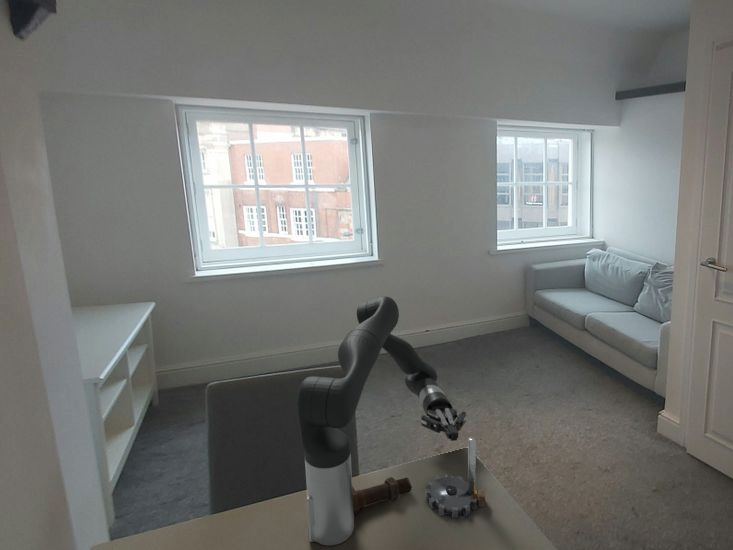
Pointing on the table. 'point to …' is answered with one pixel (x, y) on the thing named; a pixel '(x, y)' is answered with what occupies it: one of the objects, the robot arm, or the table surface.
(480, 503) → the brown block
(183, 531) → the table surface
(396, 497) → the bolt
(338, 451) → the robot arm
